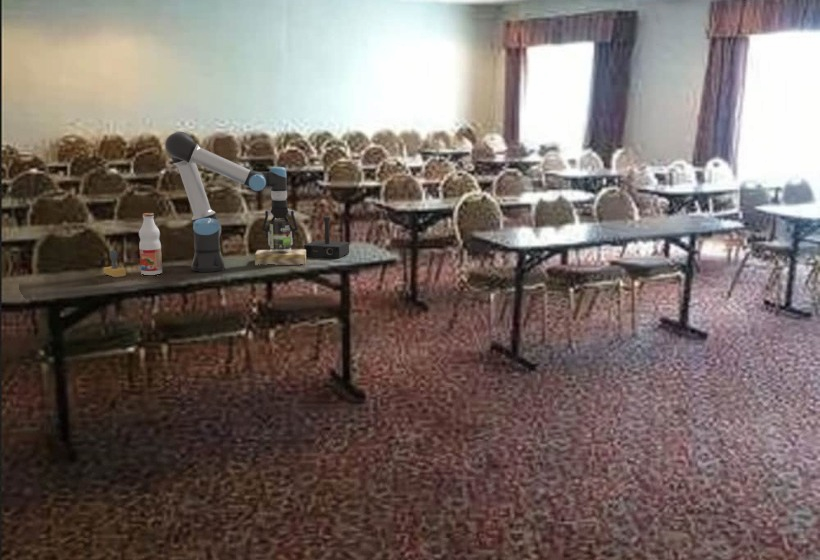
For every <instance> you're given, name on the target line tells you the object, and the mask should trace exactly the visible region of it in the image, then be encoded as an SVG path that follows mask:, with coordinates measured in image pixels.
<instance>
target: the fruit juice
mask: <svg viewBox="0 0 820 560" xmlns="http://www.w3.org/2000/svg"><path fill="white" fill-rule="evenodd" d="M154 217H155V214H154V212H145V213H142V218H143V221H142V225H141V227H140V229H139V231H138V237H139V239H140V241H139V244H138V245H139V246H138V247H139V261H140V264H139V265H140V273H141V275H142V274H144V275H155V274H160V273H162V274H163V261H162V257H163V256H162V244H161V241H160V236H161V232H160V229H159V228H158V226H157V225H156V223H155V221H154V219H155V218H154Z"/></svg>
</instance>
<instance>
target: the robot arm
mask: <svg viewBox="0 0 820 560" xmlns="http://www.w3.org/2000/svg"><path fill="white" fill-rule="evenodd" d="M164 145H165V146H164V148H165V151H166V152H167V153H168V155H169V156H170V158H171V161H172V164H173V165H175V166H176V167H177V169H178V171H179V172H178V173H179V175H180V179H181V180H182V181H181V182H182V184H183V186H184V190H185V193H186V196H187V199H188V202H189V205H190V208H191V210H192V214H193V216H192V218H191V220H192V224H193V226H192V229H193V240H194V241H193V242H194V244H193V245H194V246H193V247H194V256H193V260H192V263H191V271H192V270H194V271H193V272H195V271H199V272H198V273H213V272H214V271H215V272H220V270H221V271H224V270H225V266H226V265H225V262H224V260H223V259H224V258H223V256H222V254H221V245H220V244H221V243H220V242H221V240H220V239H221V238H220V237H221V235H222V225H221V223H220V221H219V219H218V216H217V213H216V211H214V210H212V208H211V206H210V202H209V199H208V196H207V193H206V189H205V186H204V184H203V180H202V178H201V175H200V172H199V168H198V166H201V167H203V168H205V169H208V170H210V171H211V172H215V173H216V174H219V175H220V176H224V177H225V178H228V179H230V180H232V181H235V182H237V183H238V184H241V185H244V186H246V188H251V189H252V190H253V191H255V192H260V191H262V190H263V189H264V188H270V189H271V190H270V192H271V193H270V194H271V195H270V197H271V209H270V210H267V209H266V210H265V215H264V220H263V224H262V228H261V230H262V231H264V232H265V238H266V239H267V240H268V246H270V223H268V226H267V222H268V218H269V215H270V214H271V215H272V218H271V222H273V221H274V220H285V221H286V222H288V221H289V218H288V217H287V215H288V214H289V215H290V217H291V219H292V220H291V221H292V223H293V225H292V223H291V222H290V239H291V246H293V239H295V235H296V234H295V232H296V231H298V230H299V227H298V223H297V220H296V218H295V210H293V209H292V210H289V209H288V200H287V199H288V184H287V183H288V179H287V178H288V177H287V169H286V168H285V167H283V166H274V167H270V170H269V171H254V170H251V169H249V168H247V167H244V166H242V165H240V164H238V163H235V162H234V161H232V160H229V159H227V158H224V157H222V156H220V155H218V154H215V153H214V152H212V151H209V150H207V149H205V148H204V147H200V145H199V144H198V143H196V142H195V141H194V139H193V138H192V137H191V136H190V135H189V134H188V133H187V132H183V131H176V132H173V133H172V134H170V135H169V136H167V138H166V139H165V143H164ZM197 165H198V166H197ZM266 226H267V227H266ZM293 226H294V227H293ZM223 269H224V270H223Z"/></svg>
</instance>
